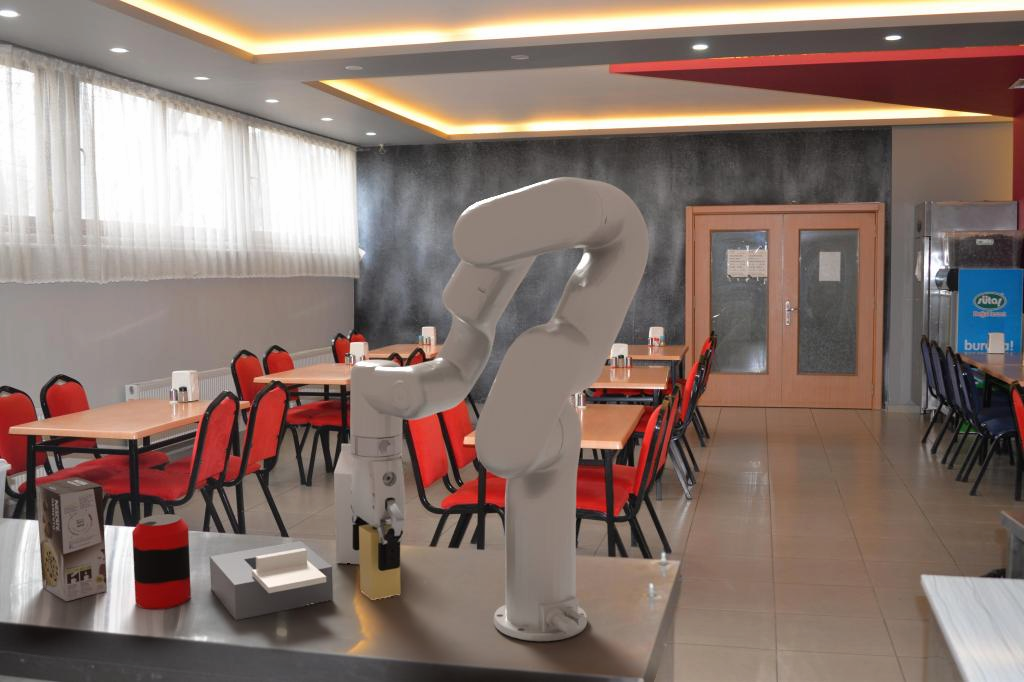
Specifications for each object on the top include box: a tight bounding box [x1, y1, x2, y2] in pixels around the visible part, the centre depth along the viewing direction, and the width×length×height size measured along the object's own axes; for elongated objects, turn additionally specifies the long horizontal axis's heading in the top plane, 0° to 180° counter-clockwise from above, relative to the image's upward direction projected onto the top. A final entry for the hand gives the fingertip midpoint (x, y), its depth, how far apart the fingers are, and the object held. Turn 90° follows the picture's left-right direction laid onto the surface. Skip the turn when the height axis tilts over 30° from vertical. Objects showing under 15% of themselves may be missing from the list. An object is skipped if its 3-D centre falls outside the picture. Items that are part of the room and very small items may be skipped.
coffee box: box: [35, 476, 108, 602], centre depth 140 cm, size 9×6×16 cm
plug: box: [359, 520, 402, 599], centre depth 139 cm, size 4×4×12 cm
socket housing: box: [209, 540, 334, 621], centre depth 138 cm, size 14×14×5 cm
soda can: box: [131, 513, 192, 610], centre depth 136 cm, size 8×8×12 cm
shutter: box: [252, 548, 326, 593], centre depth 131 cm, size 8×8×3 cm
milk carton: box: [333, 443, 391, 565], centre depth 154 cm, size 7×7×19 cm
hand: (375, 558), depth 139 cm, fingers open, 9 cm apart
